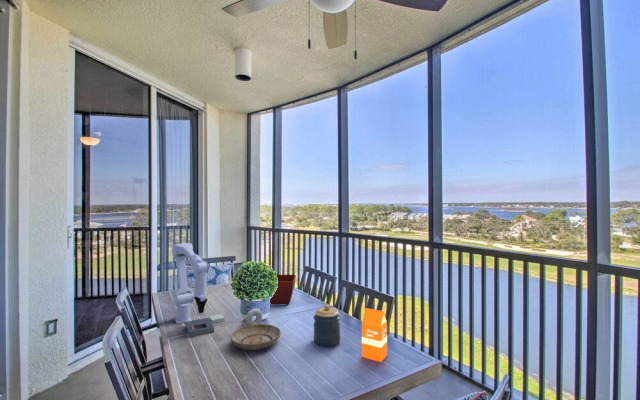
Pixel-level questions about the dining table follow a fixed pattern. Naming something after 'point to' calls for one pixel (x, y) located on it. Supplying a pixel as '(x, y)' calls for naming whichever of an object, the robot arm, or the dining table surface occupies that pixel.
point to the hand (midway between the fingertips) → (200, 311)
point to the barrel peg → (200, 313)
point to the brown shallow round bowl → (255, 336)
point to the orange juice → (374, 335)
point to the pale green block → (216, 318)
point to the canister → (326, 327)
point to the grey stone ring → (251, 314)
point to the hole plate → (199, 327)
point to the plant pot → (284, 289)
